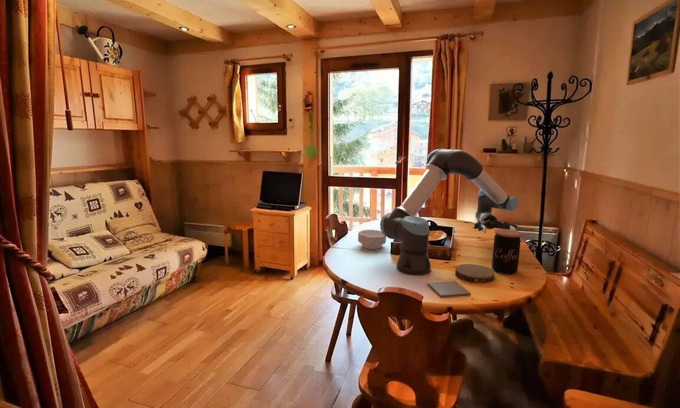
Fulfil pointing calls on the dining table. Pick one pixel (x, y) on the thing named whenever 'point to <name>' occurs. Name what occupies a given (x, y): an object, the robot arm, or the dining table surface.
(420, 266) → the robot arm
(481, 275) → the grey round disc
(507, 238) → the coffee jar
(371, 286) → the dining table surface
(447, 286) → the slate coaster
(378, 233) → the paper bowls
